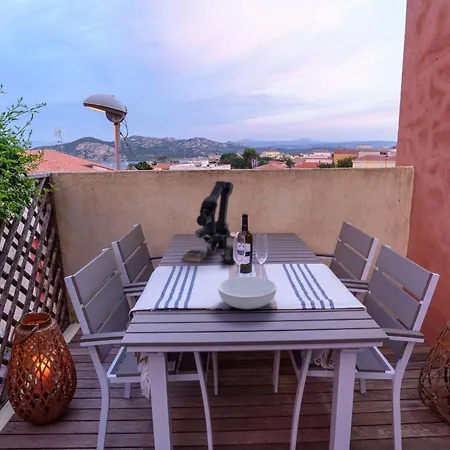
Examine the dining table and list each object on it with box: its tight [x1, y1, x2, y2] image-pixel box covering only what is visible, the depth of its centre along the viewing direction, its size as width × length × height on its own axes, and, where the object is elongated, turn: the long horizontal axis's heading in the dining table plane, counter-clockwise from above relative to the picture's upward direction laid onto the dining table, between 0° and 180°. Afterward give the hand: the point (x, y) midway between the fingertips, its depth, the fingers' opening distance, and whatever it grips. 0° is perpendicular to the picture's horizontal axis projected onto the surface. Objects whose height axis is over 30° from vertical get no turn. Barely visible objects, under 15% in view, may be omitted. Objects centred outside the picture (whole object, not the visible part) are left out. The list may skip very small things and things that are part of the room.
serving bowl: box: [217, 275, 278, 310], centre depth 123 cm, size 21×21×7 cm
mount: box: [181, 249, 207, 263], centre depth 181 cm, size 10×10×4 cm
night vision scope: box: [220, 245, 236, 265], centre depth 175 cm, size 8×18×10 cm
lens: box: [205, 241, 216, 256], centre depth 188 cm, size 5×5×7 cm
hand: (210, 250), depth 189 cm, fingers closed on lens, 5 cm apart
